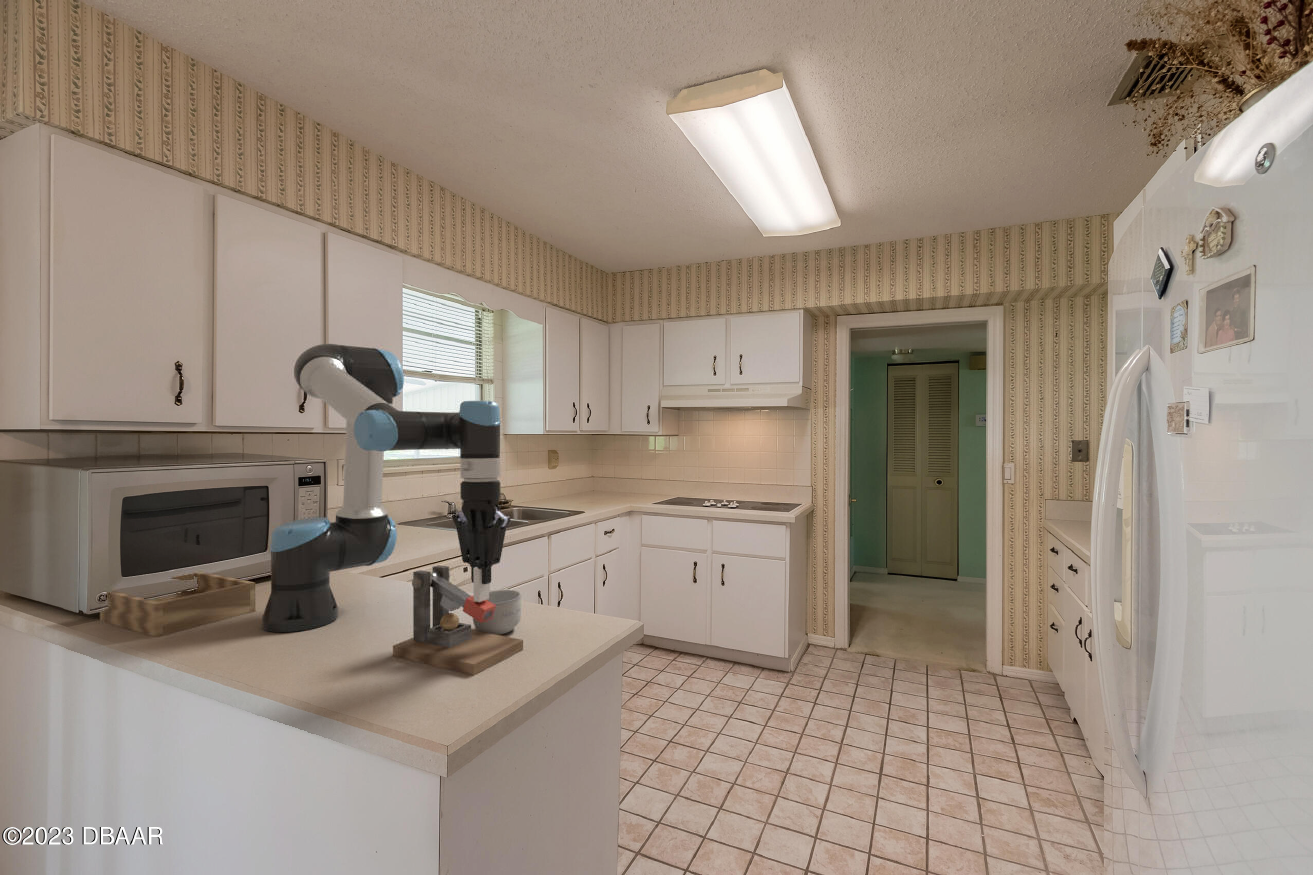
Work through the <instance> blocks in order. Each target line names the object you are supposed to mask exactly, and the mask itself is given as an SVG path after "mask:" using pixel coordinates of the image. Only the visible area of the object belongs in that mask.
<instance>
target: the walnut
mask: <svg viewBox="0 0 1313 875" xmlns="http://www.w3.org/2000/svg"><path fill="white" fill-rule="evenodd" d="M459 623H460V618H459V617H458V615H457V614H456V613H454V612H449V613H447V614H445V615H444V616H443V617H442V618H441V621H440V625H441V628H442V629H443V630H445V631H453V630H455V629H456V628H457V626H458V624H459Z"/></svg>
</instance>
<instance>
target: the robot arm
mask: <svg viewBox="0 0 1313 875" xmlns="http://www.w3.org/2000/svg"><path fill="white" fill-rule="evenodd" d="M293 375H294V376H293V377H294V379H295V382H296V384H297V385H298V386H299V388H300V389H301V390H302V391H303V392H305V393H306V394H307V395H308V396H310V397H312V398H313V399H314V398H315V399H320V400H322V401H323V402H324V403H325V404H327V405H328V406H329V407H330V408H332V409H333V410H334V411H335V412H337V413H338V414H339V416H341V417H343V419H345V420H346V425H345V446H344V447H345V449H344V453H345V454H344V473H343V474H344V476H343V477H344V478H343V500H342V506H341V508H339V509H338V510H337V511H336V512H335V521H333V522H331V521H330V519H329V518H328V517H323V516H322V517H320V516H318V517H310V518H309V517H308V518H307V517H306V518H302V519H297V520H292V521H289V522H285V523H283V524H280V525H279V526H277V527H275V528H274V529H273V530H272V533H271V540H270V546H269V550H270V571H271V572H270V583H271V584H270V594H269V597H268V599H267V603H266V605H265V608H264V612H263V614H262V617H261V628H262V630H264V631H267V632H273V633H292V632H300V631H305V630H306V631H307V630H310V629H311V630H312V629H315V628H320V627H322V626H326V625H329V624H331V623H333V622H335V621H336V620H337V619H338V618H339V607H338V604H337V601H336V599H335V596H334V593H333V591H332V588H331V585H330V579H331V578H330V575H331V573H332V572H335V571H336V572H337V571H343V570H349V569H354V568H358V567H364V566H365V567H369V566H370V567H371V566H372V565H375V564H380V563H383V562H385V561H387V560H389V557H391V555H392V554H393V553H394V550H395V548H396V543H397V540H398V532H397V529H398V528H396V527H397V526H396V522H395V520H394V519H393V518H392V517H390V516H388V514H389V512H388V510H387V509H386V508H385V507H383V505H382V503H383V502H382V501H383V484H384V482H383V480H384V460H385V459H384V454H385V452H387V451H388V452H390V451H413V450H418V451H419V450H459V451H460V452H459V453H460V455H459V458H460V459H459V460H460V478H461V479H463V480H462V481H461V482H460V483H459V484H460V485H459V486H460V500H462V501H463V502H462V503H463V504H462V505H461V510H460V511H459V512H458V513H454V514H452V516H451V519H452V521H453V523H454V525H455V527H456V533H457V539H458V544H459V550H460V554H461V560H462V563H464V564H465V563H466V564H468V565H469V567H471V568H470V569H471V570H470V571H471V572H470V574H471V578H470V579H471V583H472V584H473V596H474V601H476V602H481V601H484V600H487V599H489V591H490V584H491V582H492V567H493V566H494V565H497V564H499V563H501V558H502V554H503V553H502V552H503V547H504V542H505V537H506V536H505V535H506V531H507V527H508V525H509V523H510V522H511V517H510V515H504V513H502V512H501V508H500V505H499V500H500V498H501V481H500V480H498V478H501V455H500V454H501V419H500V418H501V417H500V405H499V404H498V403H497V402H496V401H492V400H491V401H490V400H464V401H462V402H461V403H460V405H459V411H458V412H457V411H456V412H454V411H453V412H447V411H446V412H445V411H444V412H441V411H440V412H439V411H411V410H410V411H409V410H405V411H404V410H399V409H397V408H396V407H394V406H393V402H394V400H393V399H394V398H396V397H399V395H400V394H401V393H402V390H403V389H404V384H405V383H404V382H405V375H404V371H403V366H402V364H401V362H400V360H399V358H398V357H397V356H396V355H395V354H394V353H393V352H392V351H389V350H385V349H379V348H375V347H365V346H364V347H363V346H354V345H353V346H351V345H346V344H345V345H343V344H336V343H322V344H318V345H313V346H311V347H309V348H308V349H306V350H304V351H303V352H302V353H301V354H300V355H299V356H298V358H296V361H295V364H294V366H293Z"/></svg>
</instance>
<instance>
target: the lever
mask: <svg viewBox="0 0 1313 875" xmlns="http://www.w3.org/2000/svg"><path fill="white" fill-rule="evenodd" d="M430 588H431V589H432V590H433V589H435V590H436V591H438V592H439V593H441V594H443V596H442V599H441V603H440V605H441V606H443V607H444V608H446V609H447V610H449V613H452V612H453V611H457V610H459V609H461V608H462V613H465V614H467V615H468V616H469V617H471V618H472V619H473V618H474V619H476V620H477V621H479V622H480V623H482V622H484V621H487V620H489V619H492V618H493V614H494V611H495V607H496V605H494V604H493V603H491V602H489V601H488V600H484V601H481V602H476V601H474V595H472V594H469V593H468V592H466V591H464V590H463V589H461V588H460V587H459V586H456V585H455V584H453V583H452V582H450V580H449V581H447V580H445V579H444V578H442V577H441V574H440V573H439V572H438V571H435V572H433V571H432V572H431V571H430Z"/></svg>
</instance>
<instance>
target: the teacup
mask: <svg viewBox="0 0 1313 875" xmlns="http://www.w3.org/2000/svg"><path fill="white" fill-rule="evenodd" d="M521 598H522V593H521V592H520V591H518V590H514V589H513V590H512V589H509V588H506V587H505V588H502V589H497V590H496V589H495V590H491V591H490V590H489V599H487V600H488V601H489V602H491V603H493V604H494V605H496V607H495V611H494V614H493V618H492V619H489V620H487V621H484V622H482V623H480V622H479V621H477V620H476V619H474V618H473V617H472V622H473V626H474V627H475V629H476V630H477V631H480V632H485V633H490V634H495V635H500V636H501V635H504V634H507V633H509V632H511V631H513V630H514V629H515V627H517V626H518V625H519V623H520V621H521V619H522V601H521V600H522V599H521Z"/></svg>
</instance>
